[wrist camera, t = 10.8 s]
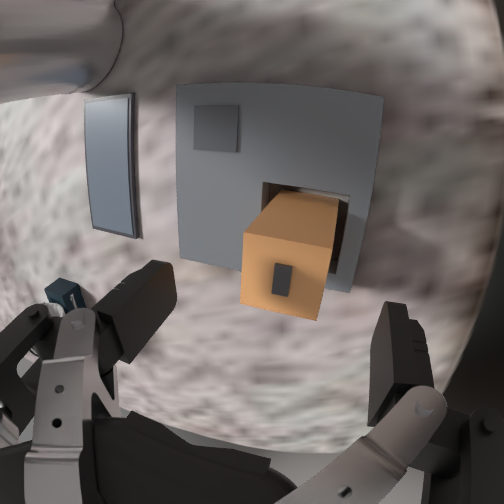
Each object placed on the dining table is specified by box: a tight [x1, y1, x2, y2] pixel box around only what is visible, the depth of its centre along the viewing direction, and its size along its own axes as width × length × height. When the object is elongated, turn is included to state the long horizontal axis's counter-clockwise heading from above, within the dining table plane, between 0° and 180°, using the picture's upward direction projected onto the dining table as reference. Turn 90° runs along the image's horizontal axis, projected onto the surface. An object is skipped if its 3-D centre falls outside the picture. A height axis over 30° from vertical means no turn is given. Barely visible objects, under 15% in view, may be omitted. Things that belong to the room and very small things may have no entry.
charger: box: [240, 189, 339, 321], centre depth 17 cm, size 4×4×8 cm
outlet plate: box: [176, 82, 384, 293], centre depth 19 cm, size 13×13×2 cm
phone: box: [84, 93, 139, 239], centre depth 24 cm, size 6×13×1 cm, turn 175°
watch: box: [28, 278, 86, 357], centre depth 30 cm, size 6×8×11 cm
